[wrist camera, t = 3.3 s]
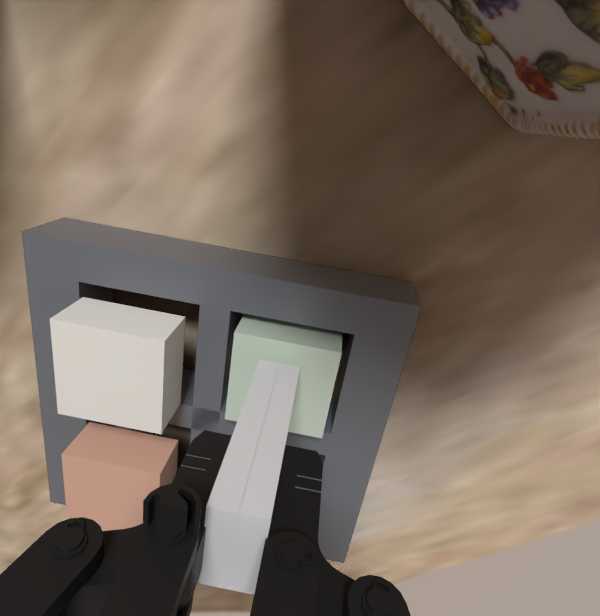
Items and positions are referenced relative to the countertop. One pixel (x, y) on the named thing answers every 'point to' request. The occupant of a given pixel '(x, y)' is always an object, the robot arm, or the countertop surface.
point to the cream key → (118, 364)
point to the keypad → (219, 340)
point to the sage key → (289, 351)
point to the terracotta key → (115, 473)
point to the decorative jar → (526, 58)
